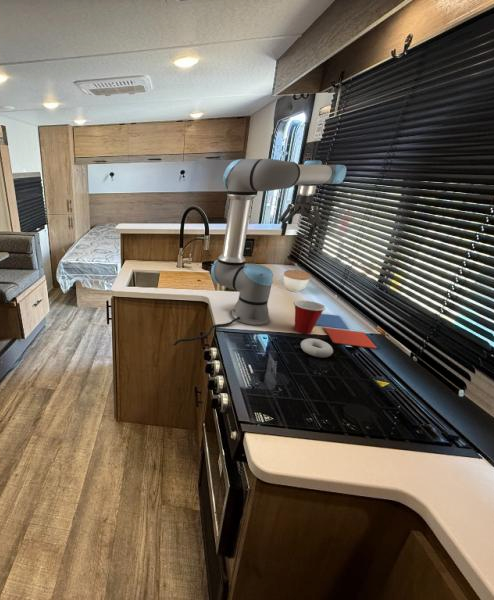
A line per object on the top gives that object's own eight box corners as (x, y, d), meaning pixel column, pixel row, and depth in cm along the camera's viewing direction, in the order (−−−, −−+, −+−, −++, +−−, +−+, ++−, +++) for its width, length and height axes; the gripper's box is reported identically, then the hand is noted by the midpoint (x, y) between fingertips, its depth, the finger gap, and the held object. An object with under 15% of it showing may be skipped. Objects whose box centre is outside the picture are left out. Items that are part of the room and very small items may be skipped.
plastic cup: (309, 324, 130) (317, 298, 125) (323, 337, 120) (331, 310, 116) (283, 323, 131) (289, 298, 126) (294, 336, 121) (301, 309, 117)
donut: (326, 346, 115) (296, 342, 117) (328, 338, 113) (298, 334, 116) (335, 361, 106) (303, 356, 108) (338, 353, 104) (306, 348, 107)
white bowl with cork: (298, 295, 159) (303, 275, 155) (275, 288, 169) (280, 269, 165) (311, 290, 165) (316, 271, 161) (288, 283, 175) (293, 265, 171)
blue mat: (348, 329, 127) (348, 328, 126) (309, 324, 131) (310, 323, 130) (338, 316, 137) (338, 315, 137) (303, 312, 141) (303, 311, 141)
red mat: (377, 349, 113) (377, 348, 113) (333, 343, 117) (333, 342, 117) (363, 333, 123) (363, 332, 123) (323, 328, 127) (324, 327, 127)
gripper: (337, 196, 143) (324, 241, 152) (285, 193, 163) (276, 233, 171) (329, 196, 140) (317, 242, 148) (277, 193, 159) (268, 234, 167)
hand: (295, 237), depth 159 cm, fingers open, 13 cm apart
